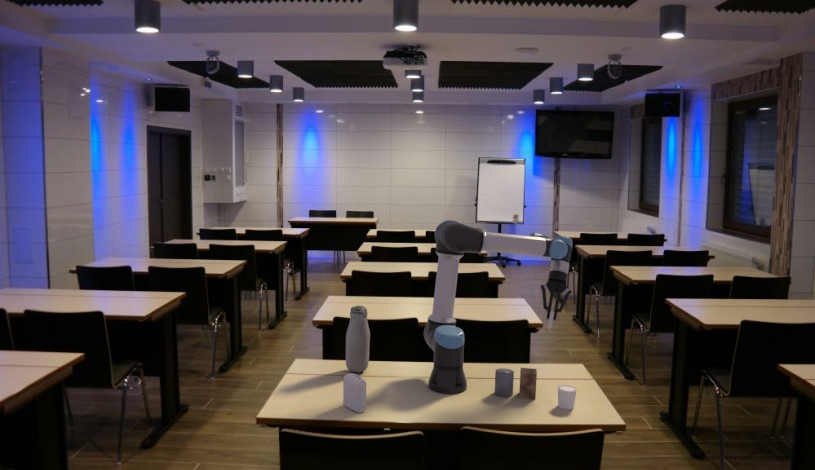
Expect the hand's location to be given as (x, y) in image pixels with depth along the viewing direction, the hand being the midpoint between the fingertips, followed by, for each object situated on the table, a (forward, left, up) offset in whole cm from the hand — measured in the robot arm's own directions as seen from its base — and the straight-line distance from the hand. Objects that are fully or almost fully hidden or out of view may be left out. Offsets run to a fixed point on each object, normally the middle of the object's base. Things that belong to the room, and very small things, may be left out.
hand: (549, 327), depth 260 cm
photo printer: (-69, -47, -23) cm, 87 cm away
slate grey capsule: (-17, -19, -23) cm, 34 cm away
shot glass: (+6, -27, -23) cm, 36 cm away
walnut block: (-8, -19, -23) cm, 31 cm away
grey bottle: (-78, -8, -23) cm, 82 cm away
